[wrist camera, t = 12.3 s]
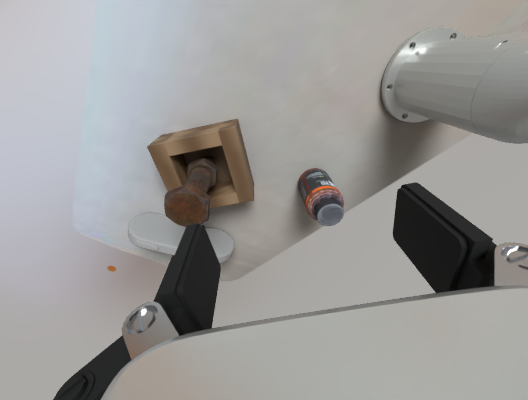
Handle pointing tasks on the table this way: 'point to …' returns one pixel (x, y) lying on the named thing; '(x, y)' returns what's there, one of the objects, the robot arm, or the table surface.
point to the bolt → (192, 194)
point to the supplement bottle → (321, 197)
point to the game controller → (172, 235)
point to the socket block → (212, 145)
